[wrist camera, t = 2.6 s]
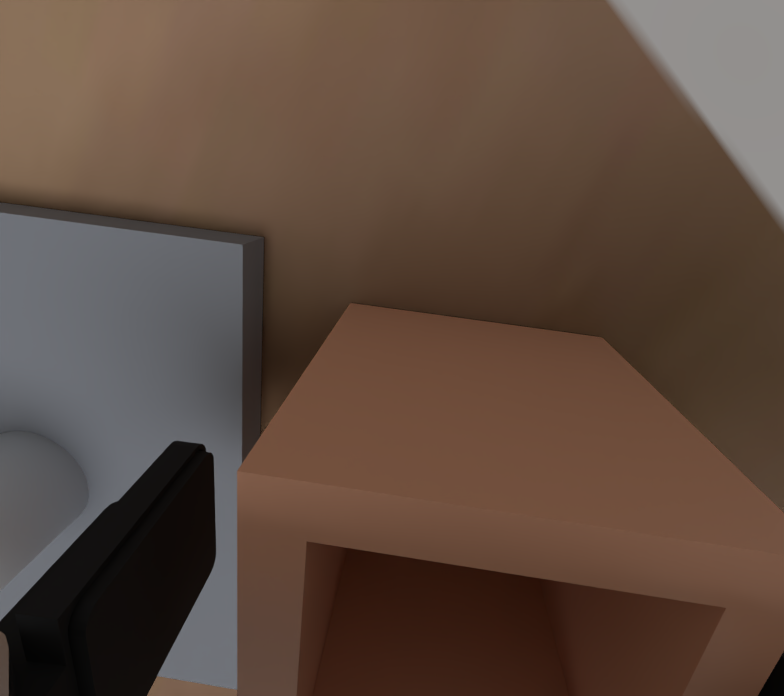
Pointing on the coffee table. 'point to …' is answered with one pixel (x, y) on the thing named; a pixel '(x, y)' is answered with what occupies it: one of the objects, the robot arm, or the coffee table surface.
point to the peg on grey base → (124, 390)
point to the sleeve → (496, 526)
